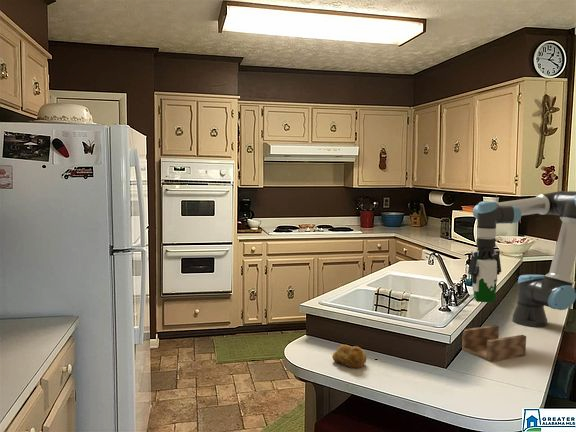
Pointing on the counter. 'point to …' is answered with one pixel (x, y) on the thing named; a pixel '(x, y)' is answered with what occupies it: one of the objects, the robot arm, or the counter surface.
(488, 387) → the counter surface
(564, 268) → the robot arm
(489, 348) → the u rest
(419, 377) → the counter surface
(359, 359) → the bread roll
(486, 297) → the soya milk
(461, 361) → the counter surface
